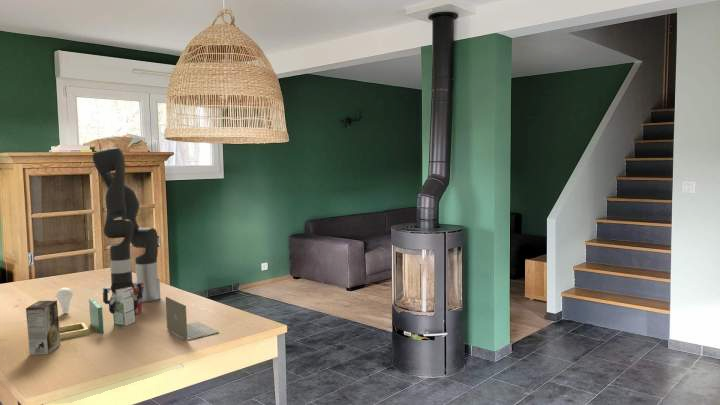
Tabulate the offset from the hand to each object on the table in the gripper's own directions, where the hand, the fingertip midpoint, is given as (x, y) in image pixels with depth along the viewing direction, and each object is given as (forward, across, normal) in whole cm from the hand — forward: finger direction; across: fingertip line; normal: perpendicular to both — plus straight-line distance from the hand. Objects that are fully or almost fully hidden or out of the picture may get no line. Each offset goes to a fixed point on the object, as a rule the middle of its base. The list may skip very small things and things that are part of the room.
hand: (123, 311), depth 215 cm
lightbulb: (+5, +16, -32) cm, 36 cm away
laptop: (+5, -18, +28) cm, 33 cm away
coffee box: (+5, +29, +14) cm, 33 cm away
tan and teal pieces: (+5, +17, 0) cm, 17 cm away
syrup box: (+5, 0, 0) cm, 5 cm away
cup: (+5, -7, -13) cm, 16 cm away
